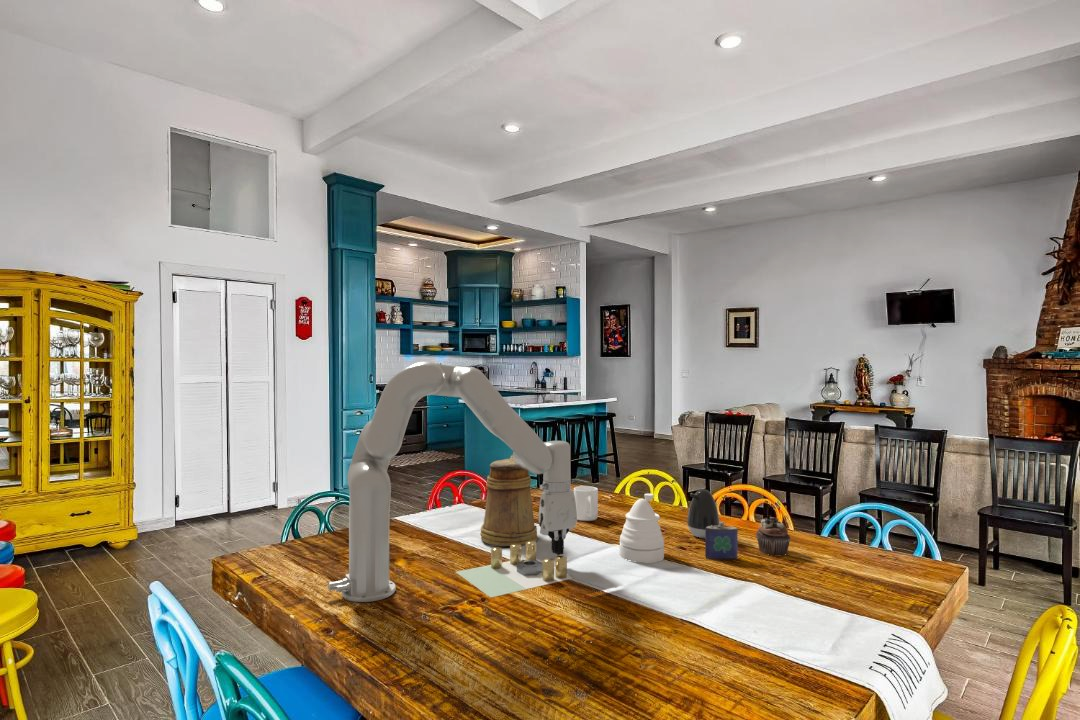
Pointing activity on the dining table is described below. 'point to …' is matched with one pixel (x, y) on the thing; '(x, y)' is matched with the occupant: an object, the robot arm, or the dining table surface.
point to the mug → (586, 502)
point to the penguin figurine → (702, 513)
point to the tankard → (508, 505)
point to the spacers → (531, 554)
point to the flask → (721, 542)
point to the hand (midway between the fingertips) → (557, 553)
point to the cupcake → (773, 537)
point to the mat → (503, 579)
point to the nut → (529, 567)
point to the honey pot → (642, 533)
